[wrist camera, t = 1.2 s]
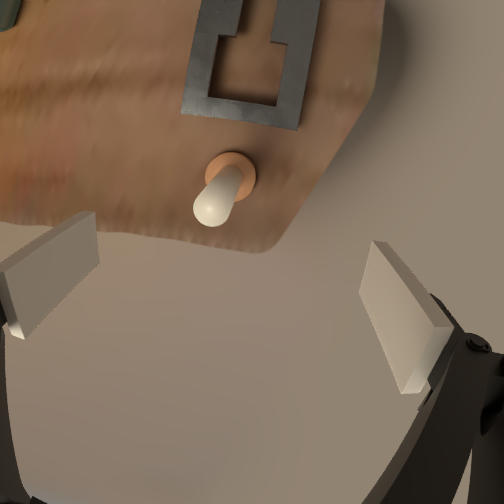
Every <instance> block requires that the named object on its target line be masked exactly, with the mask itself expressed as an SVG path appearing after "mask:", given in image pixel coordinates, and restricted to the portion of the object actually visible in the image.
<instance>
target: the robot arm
mask: <svg viewBox="0 0 504 504" xmlns="http://www.w3.org/2000/svg"><path fill="white" fill-rule="evenodd" d="M98 264H99V254H98V244H97V233H96V220H95V212H92V211H81V212H80V213H78V214H76V215H74V216H73V217H71V218H69V219H67V220H66V221H64V222H62V223H61V224H59V225H57V226H56V227H54V228H53V229H51V230H50V231H48V232H46V233H44V234H43V235H41V236H40V237H38V238H37V239H35V240H33V241H32V242H30V243H29V244H27V245H26V246H24V247H23V248H21V249H20V250H18V251H17V252H15V253H14V254H12V255H11V256H10V257H8V258H7V259H5V260H4V261H2V262H1V263H0V504H47V503H45V502H43V501H41V500H39V499H37V498H35V497H33V496H32V498H30V497H29V495H28V494H27V492H26V491H25V489H24V487H23V485H22V482H21V479H20V475H19V471H18V466H17V462H16V458H15V452H14V447H13V442H12V435H11V428H10V422H9V413H8V405H7V393H6V377H5V334H4V331H3V328H2V326H3V325H4V324H5V323H6V322H7V323H8V326H9V329H10V331H11V334H12V335H14V336H16V337H19V338H22V339H24V340H25V339H26V338H27V337H28V336H29V335H30V334H31V333H32V331H33V330H34V329H35V328H36V327H37V326H38V325H39V324H40V323H41V322H42V320H43V319H44V318H45V317H46V316H47V315H48V314H49V313H50V312H51V311H52V310H53V309H54V308H55V307H56V306H57V305H58V304H59V303H60V302H61V301H62V299H64V298H65V296H66V295H67V294H68V293H69V292H70V291H71V290H72V289H73V288H74V287H75V286H76V285H77V284H78V283H79V282H80V281H81V280H83V279H84V278H85V277H86V276H87V275H88V274H89V273H90V272H91V271H92V270H93V269H94V268H95V267H96V266H97V265H98ZM359 295H360V297H361V299H362V302H363V304H364V306H365V308H366V310H367V313H368V315H369V317H370V320H371V322H372V324H373V327H374V329H375V331H376V333H377V336H378V338H379V341H380V343H381V345H382V348H383V350H384V353H385V355H386V358H387V360H388V362H389V365H390V367H391V370H392V372H393V375H394V378H395V380H396V383H397V385H398V388H399V391H400V393H401V394H408V393H420V391H421V389H422V388H423V386H424V384H425V383H426V381H427V380H428V382H429V384H430V386H431V389H430V391H429V392H428V394H427V396H426V397H425V399H424V400H423V402H422V403H421V405H420V406H419V408H418V411H419V412H418V414H417V416H416V418H415V420H414V422H413V423H412V425H411V427H410V429H409V431H408V433H407V435H406V436H405V438H404V440H403V442H402V443H401V445H400V447H399V449H398V450H397V452H396V453H395V455H394V457H393V458H392V460H391V462H390V463H389V465H388V466H387V468H386V470H385V471H384V472H383V474H382V476H381V477H380V478H379V480H378V481H377V483H376V484H375V486H374V487H373V489H372V490H371V491H370V493H369V494H368V496H367V497H366V498H365V500H364V501H363V502H362V504H451V503H452V501H453V498H454V496H455V494H456V491H457V489H458V486H459V484H460V481H461V478H462V476H463V473H464V470H465V467H466V465H467V461H468V459H469V456H470V452H471V449H472V462H471V475H470V485H469V493H468V501H467V504H504V354H499V353H495V352H492V348H491V346H490V345H489V343H488V342H487V341H486V340H484V339H483V338H482V337H480V336H478V335H476V334H472V333H465V332H464V331H463V329H462V328H461V327H460V325H459V324H458V323H457V321H456V320H455V319H454V318H453V316H451V313H450V312H449V311H448V310H446V307H445V306H444V304H443V303H442V302H441V301H440V300H439V299H438V298H436V297H435V296H434V295H432V294H430V293H428V292H427V290H426V289H425V288H424V286H423V285H422V284H421V283H420V281H419V280H418V279H417V278H416V276H415V275H414V274H413V273H412V271H411V270H410V269H409V268H408V267H407V265H406V264H405V263H404V262H403V261H402V259H401V258H400V257H399V256H398V255H397V254H396V253H395V251H394V250H393V249H392V248H391V247H390V245H389V244H388V243H387V242H379V241H372V243H371V247H370V252H369V256H368V260H367V264H366V267H365V271H364V275H363V279H362V282H361V286H360V290H359Z"/></svg>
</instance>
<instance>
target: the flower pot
mask: <svg viewBox="0 0 504 504" xmlns="http://www.w3.org/2000/svg"><path fill="white" fill-rule="evenodd" d="M20 4H21V0H0V32H3V31H6V30H8V29H10V28H12V27H13V26H14V23H15V19H16V16H17V13H18V10H19V7H20Z"/></svg>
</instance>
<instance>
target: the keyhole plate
mask: <svg viewBox="0 0 504 504" xmlns="http://www.w3.org/2000/svg"><path fill="white" fill-rule="evenodd" d="M320 1H321V0H278V3H277V8H276V14H275V19H274V24H273V29H272V34H271V39H270V43H276V44H282V45H287V49H286V55H285V60H284V66H283V71H282V76H281V82H280V87H279V93H278V98H277V103H276V107H273V106H268V105H262V104H256V103H249V102H243V101H236V100H228V99H220V98H212V97H209V92H210V86H211V80H212V75H213V69H214V64H215V58H216V53H217V48H218V43H219V38H220V36H221V37H231V38H237V33H238V28H239V23H240V18H241V13H242V8H243V4H244V0H202V2H201V6H200V10H199V15H198V19H197V24H196V29H195V33H194V38H193V43H192V48H191V54H190V59H189V64H188V70H187V76H186V82H185V88H184V94H183V100H182V107H181V114H191V115H200V116H209V117H217V118H224V119H232V120H239V121H245V122H251V123H258V124H263V125H269V126H275V127H280V128H285V129H290V130H295V131H297V128H298V123H299V118H300V112H301V107H302V102H303V97H304V91H305V86H306V80H307V75H308V70H309V64H310V59H311V53H312V48H313V42H314V36H315V31H316V25H317V19H318V13H319V7H320Z"/></svg>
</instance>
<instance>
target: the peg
mask: <svg viewBox="0 0 504 504" xmlns="http://www.w3.org/2000/svg"><path fill="white" fill-rule="evenodd" d="M205 180H206V185H207V186H206V187H205V189H204V190H203V191H202V192H201V193H200V194H199V196H198V197H197V198H196V200H195V202H194V206H193V210H194V214H195V216H196V218H197V219H198V221H199V222H201V223H202V224H204V225H206V226H211V227H214V226H219V225H221V224H223V223H224V222H225V221H226V220H227V219H228V217H229V214H230V212H231V209H232V206H233V204H234V202H235V201H239V200H242V199H243V198H245V197H246V196H248V195H249V194H250V192H251V191H252V189H253V187H254V184H255V180H256V172H255V168H254V166H253V164H252V162H251V161H250V160H249V159H248V158H247V157H246V156H244V155H242V154H240V153H236V152H226V153H222V154H220V155H218V156H217V157H216V158H214V159H213V160H212V161H211V162H210V164H209V165H208V167H207V170H206V174H205Z"/></svg>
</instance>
